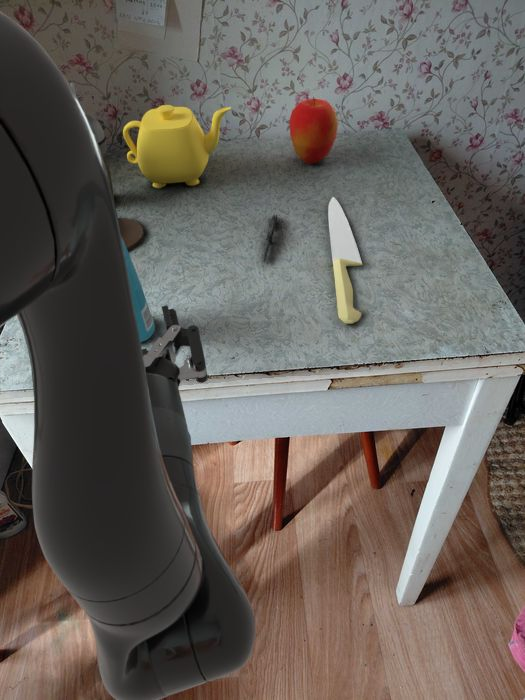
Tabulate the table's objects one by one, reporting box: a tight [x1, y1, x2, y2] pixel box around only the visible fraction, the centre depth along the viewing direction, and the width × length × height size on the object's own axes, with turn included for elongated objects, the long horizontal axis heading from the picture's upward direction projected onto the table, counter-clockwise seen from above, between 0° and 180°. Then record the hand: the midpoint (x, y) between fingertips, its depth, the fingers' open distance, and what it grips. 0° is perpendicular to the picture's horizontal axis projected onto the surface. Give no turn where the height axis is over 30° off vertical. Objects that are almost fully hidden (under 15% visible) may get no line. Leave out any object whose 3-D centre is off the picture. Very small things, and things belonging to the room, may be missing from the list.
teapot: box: [122, 104, 232, 189], centre depth 97 cm, size 14×20×13 cm
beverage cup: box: [69, 82, 115, 199], centre depth 88 cm, size 7×7×20 cm
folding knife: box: [263, 214, 278, 263], centre depth 84 cm, size 13×1×2 cm, turn 171°
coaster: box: [118, 217, 145, 251], centre depth 88 cm, size 10×10×1 cm
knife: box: [327, 196, 363, 325], centre depth 82 cm, size 1×32×5 cm
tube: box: [121, 236, 156, 343], centre depth 65 cm, size 7×5×19 cm, turn 23°
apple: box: [288, 96, 339, 165], centre depth 100 cm, size 9×9×12 cm
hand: (126, 319), depth 58 cm, fingers open, 8 cm apart
